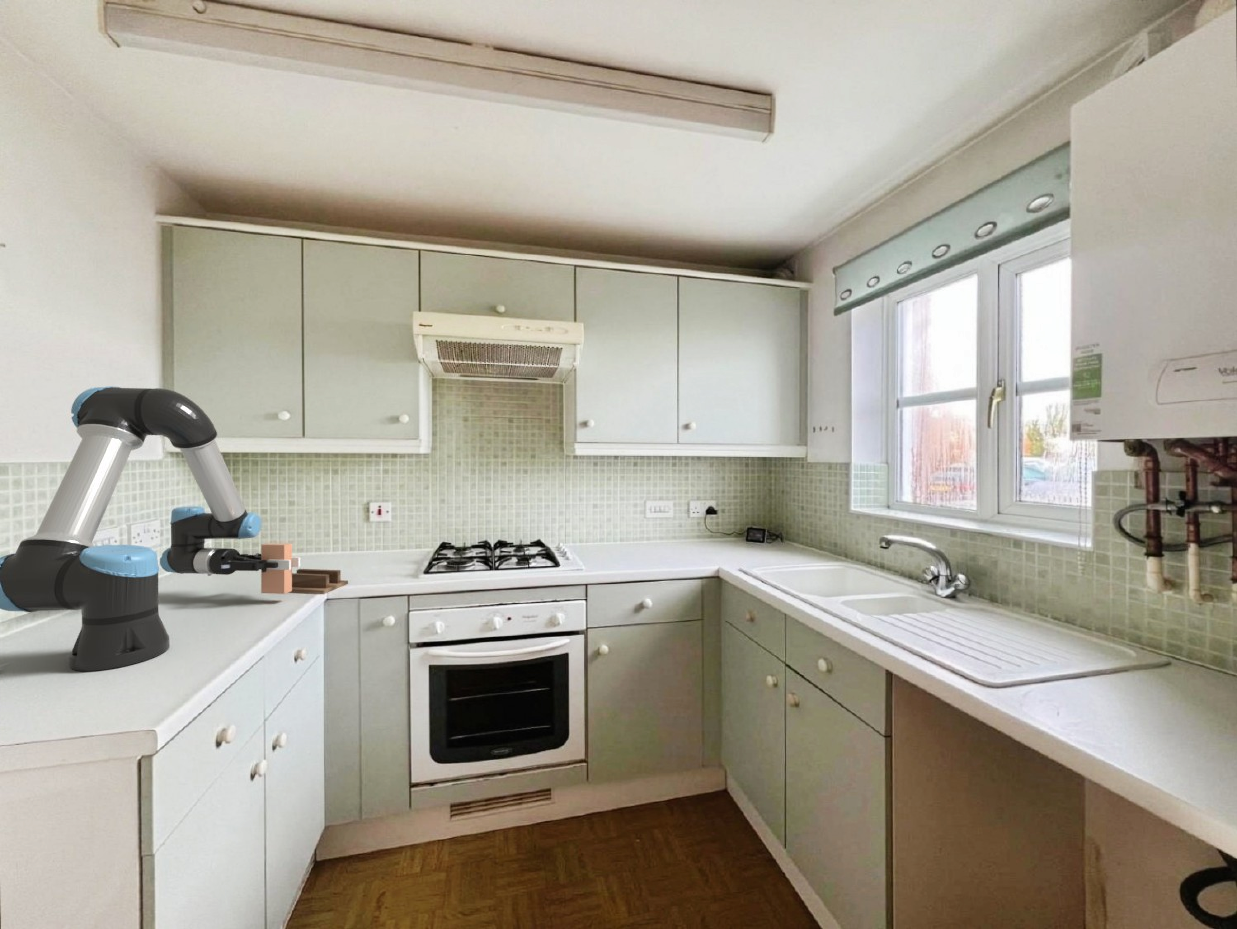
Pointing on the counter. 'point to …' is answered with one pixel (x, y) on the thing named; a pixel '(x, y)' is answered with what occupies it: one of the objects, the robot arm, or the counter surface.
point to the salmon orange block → (273, 578)
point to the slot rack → (316, 581)
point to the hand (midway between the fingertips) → (294, 563)
